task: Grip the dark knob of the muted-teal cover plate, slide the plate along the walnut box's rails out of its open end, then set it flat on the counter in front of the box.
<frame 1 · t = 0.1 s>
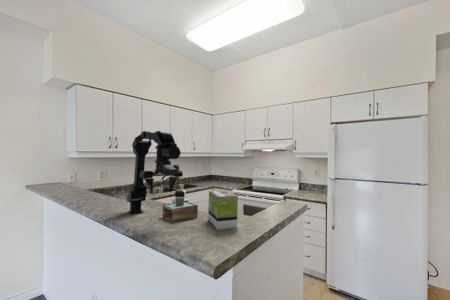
hand: (161, 192, 93), 15 cm above the worktop, fingers open, 9 cm apart
tea box: (221, 224, 98), on the worktop
cover plate: (179, 207, 106), point 5 cm above the worktop, touching box
medicine bottle: (179, 212, 117), on the worktop
box: (179, 217, 106), on the worktop
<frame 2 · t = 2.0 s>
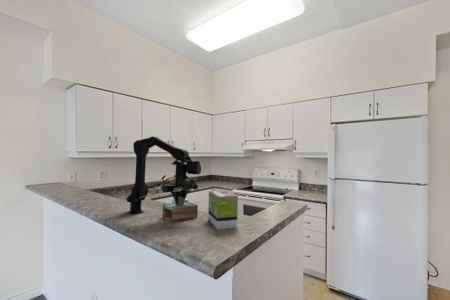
hand: (179, 203, 106), 7 cm above the worktop, fingers closed on cover plate, 3 cm apart
cover plate: (179, 207, 106), point 5 cm above the worktop, touching box, gripper
everything else where it was.
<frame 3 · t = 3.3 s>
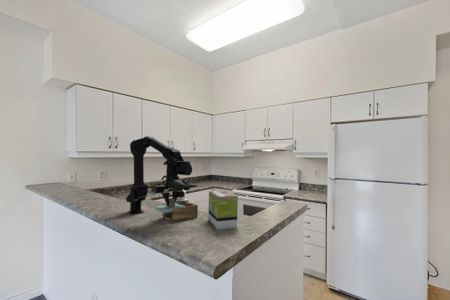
hand: (170, 205, 102), 7 cm above the worktop, fingers closed on cover plate, 3 cm apart
cover plate: (170, 209, 102), point 5 cm above the worktop, touching gripper
everything else where it was.
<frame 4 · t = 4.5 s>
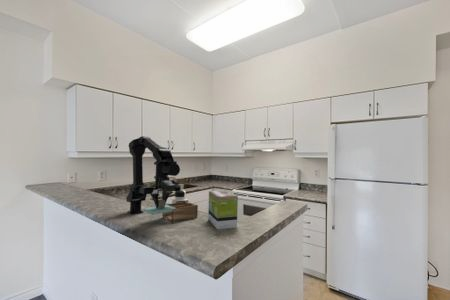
hand: (160, 206, 98), 7 cm above the worktop, fingers closed on cover plate, 3 cm apart
cover plate: (160, 210, 98), point 5 cm above the worktop, touching gripper
everything else where it was.
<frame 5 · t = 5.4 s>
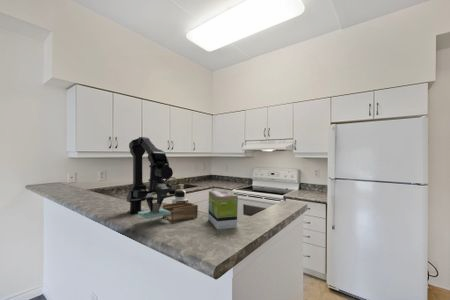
hand: (154, 210, 96), 6 cm above the worktop, fingers closed on cover plate, 3 cm apart
cover plate: (154, 214, 96), point 4 cm above the worktop, touching gripper
everything else where it was.
when the fingers open (3 cm above the worktop, at t = 6.1 s): cover plate drops 2 cm, on the worktop.
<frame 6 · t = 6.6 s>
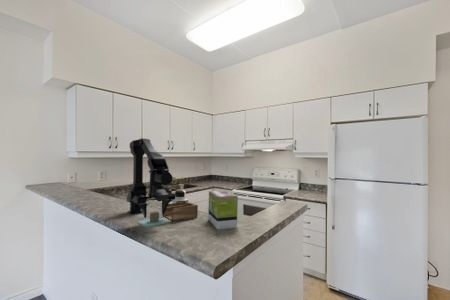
hand: (154, 216, 96), 3 cm above the worktop, fingers open, 8 cm apart
cover plate: (154, 223, 96), on the worktop
everything else where it was.
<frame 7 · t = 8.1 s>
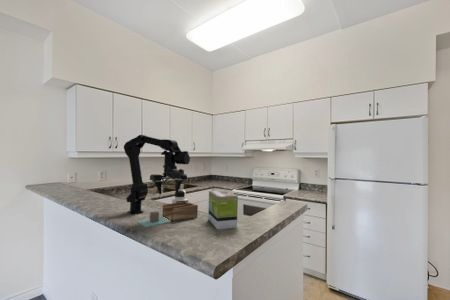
hand: (168, 193, 106), 12 cm above the worktop, fingers open, 9 cm apart
nothing on the worktop moved.
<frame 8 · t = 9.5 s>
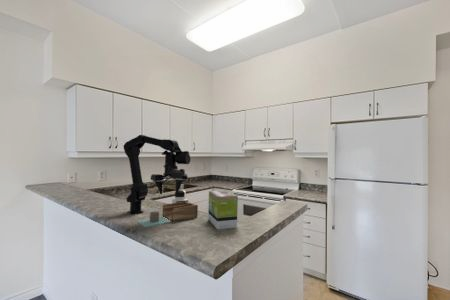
hand: (169, 193, 107), 12 cm above the worktop, fingers open, 9 cm apart
nothing on the worktop moved.
at the end: cover plate inside the target area (0.2 cm from its centre), on the worktop; cover plate tilted 0°; the gripper is holding nothing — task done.
